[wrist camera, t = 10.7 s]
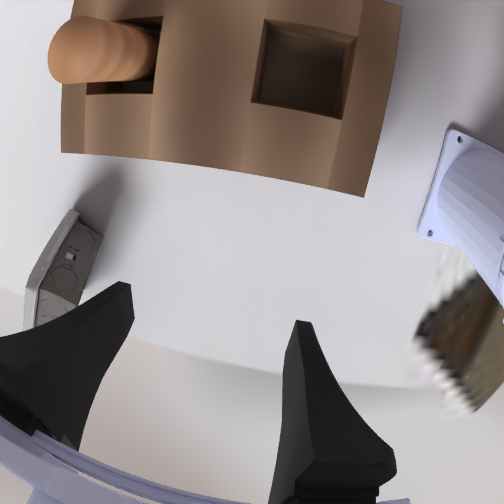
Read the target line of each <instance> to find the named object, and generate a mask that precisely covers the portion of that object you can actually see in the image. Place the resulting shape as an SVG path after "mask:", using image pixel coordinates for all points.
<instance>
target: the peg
mask: <svg viewBox="0 0 504 504" xmlns="http://www.w3.org/2000/svg"><path fill="white" fill-rule="evenodd" d="M159 42H160V36H157V35H154V34H151V33H148V32H145V31H142V30H139V29H135V28H132V27H128V26H125V25H121V24H118V23H114V22H110V21H106V20H102V19H98V18H93V17H89V16H78V17H74V18H72V19H70V20H68V21H67V22H66V23H64V24H63V25H62V26H61V27H60V28H59V30H58V31H57V32H56V34H55V35H54V37H53V39H52V41H51V44H50V47H49V51H48V67H49V70H50V73H51V75H52V76H53V78H54V79H55V80H57V81H58V82H60V83H63V84H74V83H87V82H105V81H154V79H155V71H156V63H157V56H158V48H159Z"/></svg>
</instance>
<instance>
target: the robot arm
mask: <svg viewBox="0 0 504 504" xmlns="http://www.w3.org/2000/svg"><path fill="white" fill-rule="evenodd" d="M458 136H460V137H461V140H460V142H458V141H457V138H458ZM429 230H431V233H430V234H427V232H428V231H429ZM417 233H418V235H419V236H420V237H422V238H425V239H429V240H433V241H437V242H440V243H444V244H448V245H451V246H455V247H458V248H459V249H460V250H461V252H462V253H463V254H464V255H465V256H466V258H467V259H468V260H469V261H470V263H471V264H472V265H473V267H474V268H475V269H476V270H477V272H478V273H479V274H480V276H481V277H482V278H483V280H484V281H485V282H486V284H487V285H488V286H489V288H490V289H491V290H492V292H493V293H494V295H495V296H496V297H497V299H498V300H499V302H500V303H501V305H502V306H503V308H504V153H502V152H500V151H498V150H496V149H494V148H493V147H491V146H489V145H487V144H485V143H483V142H481V141H479V140H477V139H474V138H472V137H470V136H468V135H466V134H464V133H462V132H459V131H457V130H454V129H449V130H448V131H447V133H446V137H445V141H444V145H443V149H442V153H441V156H440V160H439V164H438V167H437V170H436V174H435V177H434V180H433V184H432V187H431V190H430V193H429V196H428V199H427V202H426V205H425V208H424V211H423V214H422V216H421V219H420V222H419V225H418V227H417ZM134 319H135V317H134V310H133V301H132V293H131V284H128V283H124V282H120V281H118V282H116V283H115V284H113V285H111V286H110V287H108V288H107V289H105V290H103V291H102V292H100V293H99V294H97V295H96V296H94V297H92V298H91V299H89V300H88V301H86V302H84V303H83V304H81V305H79V306H78V307H76V308H74V309H72V310H71V311H69V312H67V313H65V314H64V315H62V316H60V317H58V318H56V319H53V320H51V321H49V322H47V323H45V324H42V325H39V326H37V327H34V328H31V329H29V330H26V331H23V332H19V333H16V334H12V335H8V336H3V337H0V464H1V465H2V466H4V467H5V468H6V469H8V470H9V471H10V472H12V473H13V474H15V475H16V476H17V477H19V478H20V479H22V480H23V481H25V482H26V483H28V484H29V485H31V486H32V487H34V489H33V492H32V494H31V496H30V498H29V501H28V503H27V504H148V503H145V502H142V501H139V500H137V499H134V498H131V497H129V496H126V495H123V494H121V493H118V492H116V491H113V490H111V489H108V488H106V487H104V486H102V485H99V484H97V483H95V482H93V481H90V480H88V479H86V478H84V477H82V476H80V475H79V474H78V473H77V471H76V470H78V471H80V472H82V473H85V474H87V475H89V476H91V477H93V478H95V479H98V480H100V481H103V482H105V483H107V484H109V485H112V486H114V487H117V488H119V489H122V490H124V491H127V492H130V493H132V494H135V495H138V496H141V497H144V498H147V499H150V500H153V501H156V502H160V503H163V504H249V503H241V502H236V501H229V500H224V499H219V498H214V497H209V496H204V495H200V494H196V493H191V492H187V491H183V490H180V489H176V488H173V487H169V486H165V485H162V484H159V483H155V482H153V481H149V480H146V479H143V478H140V477H138V476H135V475H132V474H129V473H127V472H124V471H121V470H119V469H116V468H114V467H111V466H109V465H106V464H104V463H102V462H99V461H97V460H95V459H93V458H90V457H88V456H86V455H84V454H82V453H80V452H78V451H79V447H80V442H81V438H82V434H83V430H84V427H85V423H86V420H87V417H88V414H89V411H90V408H91V405H92V403H93V400H94V397H95V395H96V392H97V390H98V388H99V385H100V383H101V380H102V378H103V376H104V375H105V373H106V371H107V369H108V368H109V366H110V364H111V362H112V361H113V359H114V357H115V356H116V354H117V352H118V351H119V349H120V347H121V346H122V344H123V342H124V341H125V339H126V337H127V335H128V333H129V331H130V328H131V326H132V324H133V321H134ZM503 323H504V320H503ZM282 392H283V393H282V426H281V434H280V441H279V447H278V454H277V460H276V466H275V471H274V477H273V482H272V487H271V492H270V496H269V501H268V504H410V500H409V499H408V498H405V499H398V500H389V501H382V502H379V503H376V497H377V496H379V487H380V486H381V485H383V484H384V483H386V482H388V481H389V480H390V479H392V478H393V477H394V476H395V475H396V473H397V469H396V460H395V456H394V452H393V449H392V448H391V447H390V446H389V445H388V444H387V443H386V442H384V441H383V440H382V439H381V438H380V437H379V436H378V435H377V434H376V433H375V432H374V431H373V430H372V429H371V428H370V427H369V426H368V425H367V423H365V421H364V420H363V419H362V417H361V416H360V415H359V414H358V412H357V411H356V410H355V409H354V407H353V406H352V405H351V403H350V402H349V400H348V399H347V397H346V396H345V394H344V393H343V391H342V389H341V388H340V386H339V384H338V383H337V381H336V379H335V377H334V375H333V373H332V371H331V369H330V367H329V365H328V363H327V361H326V359H325V357H324V354H323V352H322V350H321V347H320V345H319V342H318V340H317V337H316V334H315V331H314V328H313V325H312V324H311V322H306V321H300V320H296V322H295V325H294V328H293V331H292V334H291V337H290V340H289V343H288V346H287V349H286V352H285V359H284V367H283V388H282ZM64 463H65V464H64ZM66 464H67V465H66ZM68 465H69V466H70V467H69V466H68ZM71 467H72V468H75V469H76V470H74V469H72V468H71Z"/></svg>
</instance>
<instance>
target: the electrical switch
mask: <svg viewBox="0 0 504 504" xmlns="http://www.w3.org/2000/svg"><path fill="white" fill-rule="evenodd" d="M79 214H80V213H79V212H77V211H74V210H72V209H70V210H69V211H68V213H67V214H66V216H65V217H64V218H63V220H62V221H61V223H60V224H59V226H58V227H57V229H56V230H55V232H54V234H53V235H52V237H51V238H50V240H49V242H48V243H47V245H46V247H45V248H44V250H43V252H42V253H41V255H40V257H39V259H38V261H37V263H36V264H35V266H34V268H33V270H32V272H31V274H30V276H29V279H28V282H27V285H26V290H25V302H24V319H23V320H24V321H23V331H26V330H29V329H31V328H34V327H37V326H39V325H42V324H45V323H47V322H49V321H51V320H53V319H56V318H58V317H60V316H62V315H64V314H65V313H67V312H69V311H71V310H72V309H74V308H76V307H78V304H79V302H80V299H81V296H82V293H83V290H84V287H85V284H86V281H87V278H88V275H89V273H90V270H91V267H92V264H93V261H94V259H95V256H96V253H97V251H98V248H99V246H100V244H101V241H102V239H103V237H104V236H102V235H100V234H98V233H96V232H94V231H92V230H91V229H89V228H88V227H87V226H85V225H82V224H81V223H79V222H78V221H77V220H78V217H79ZM77 250H78V251H77ZM74 256H75V257H76V259H74V258H73V257H74Z"/></svg>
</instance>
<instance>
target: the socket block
mask: <svg viewBox="0 0 504 504" xmlns="http://www.w3.org/2000/svg"><path fill="white" fill-rule="evenodd" d="M401 15H402V7H400V6H398V5H395V4H392V3H389V2H386V1H383V0H74V4H73V8H72V13H71V19H72V18H74V17H78V16H89V17H93V18H98V19H102V20H106V21H110V22H114V23H118V24H121V25H125V26H128V27H132V28H135V29H139V30H142V31H145V32H148V33H151V34H154V35H157V36H160V42H159V48H158V56H157V63H156V71H155V79H154V81H105V82H87V83H74V84H63V83H62V100H61V153H78V154H94V155H107V156H119V157H129V158H139V159H149V160H158V161H166V162H174V163H182V164H190V165H197V166H204V167H211V168H217V169H224V170H230V171H236V172H242V173H248V174H254V175H260V176H265V177H271V178H276V179H281V180H286V181H291V182H296V183H301V184H306V185H311V186H316V187H320V188H325V189H329V190H334V191H338V192H342V193H347V194H351V195H355V196H359V197H363V198H364V195H365V191H366V188H367V184H368V180H369V177H370V173H371V169H372V165H373V162H374V158H375V154H376V150H377V146H378V141H379V137H380V133H381V129H382V124H383V120H384V115H385V111H386V106H387V101H388V96H389V91H390V86H391V81H392V75H393V69H394V64H395V58H396V51H397V45H398V38H399V31H400V23H401Z"/></svg>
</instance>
